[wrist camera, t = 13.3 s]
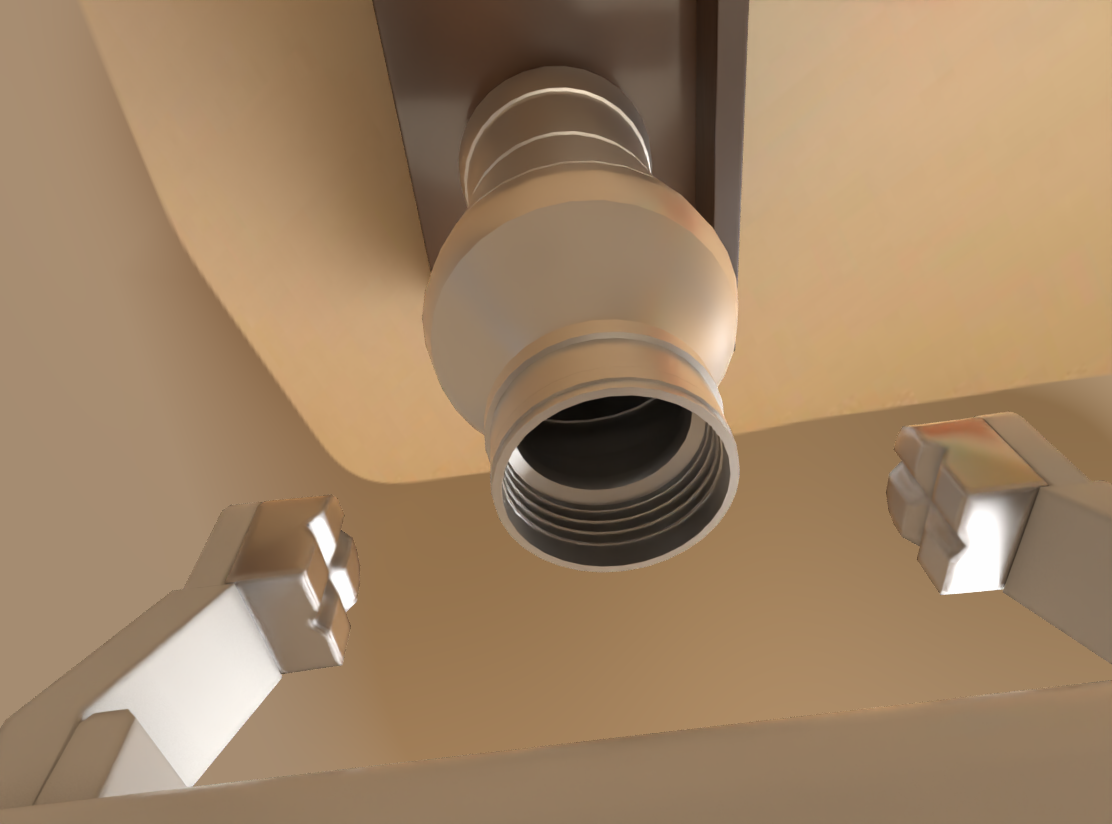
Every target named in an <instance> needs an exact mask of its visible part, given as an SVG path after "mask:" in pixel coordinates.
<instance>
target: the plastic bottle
mask: <svg viewBox="0 0 1112 824" xmlns="http://www.w3.org/2000/svg"><path fill="white" fill-rule="evenodd" d="M458 164H459V175H460V183H461V187H462V191H463V195H464V198H465V202H466V205H467V210H466V211H465V213H464V214H463V215H462V217H461V218H460V220H459V221H458V222H457V223H456V225H455V226H454V228H453V230H452V231H451V233H450V235H449V236H448V238H447V239H446V241H445V243H444V244H443V246H442V248H441V250H440V252H439V255H438V257H437V259H436V261H435V263H434V266H433V269H432V272H431V275H430V278H429V281H428V284H427V287H426V290H425V296H424V306H423V315H422V322H423V329H424V337H425V345H426V348H427V351H428V353H429V356H430V359H431V362H432V364H433V367H434V370H435V372H436V375H437V377H438V380H439V382H440V385H441V387H442V389H443V391H444V392H445V394H446V395H447V397H448V399H449V400H450V402H451V403H452V405H453V406H454V408H455V409H456V411H457V412H458V413H459V414H460V415H461V416H462V417H463V418H464V419H465V420H466V421H467V422H468V423H469V424H470V425H471V426H472V427H473V428H474V429H476V430H477V431H479V432H480V433H482V434H483V435H484V436H485V448H486V452H487V455H488V458H489V461H490V483H491V494H492V497H493V500H494V504H495V508H496V510H497V513H498V516H499V519H500V521H501V522H502V524H503V525H504V527H505V528H506V530H507V531H508V533H509V534H510V535H511V536H512V537H513V538H514V539H515V540H516V541H517V542H518V543H519V544H520V545H521V546H522V547H523V548H525V549H526V550H528V551H530V552H531V553H533V554H534V555H536V556H538V557H539V558H541V559H544V560H546V561H549V562H551V563H554V564H556V565H559V566H563V567H567V568H571V569H575V570H581V571H592V572H614V571H626V570H632V569H637V568H642V567H646V566H650V565H653V564H656V563H658V562H662V561H665V560H667V559H669V558H671V557H674V556H676V555H678V554H679V553H681V552H684V551H686V550H687V549H688V548H690V547H691V546H693V545H694V544H696V543H697V542H699V541H700V540H702V539H703V538H704V537H705V536H706V535H707V534H708V533H709V532H710V531H711V530H712V529H713V528H714V527H716V525H717V524H718V523H719V522H720V521H721V519H722V518H723V516H724V515H725V514H726V512H727V511H728V509H729V508H730V505H731V503H732V501H733V498H734V496H735V494H736V491H737V486H738V480H739V475H740V470H739V459H738V453H737V445H736V443H735V440H734V437H733V435H732V432H731V429H730V427H729V425H728V423H727V421H726V419H725V417H724V411H723V402H722V399H721V396H720V393H719V391H718V388H717V387H718V386H719V384H720V382H721V381H722V379H723V378H724V376H725V373H726V371H727V368H728V365H729V363H730V360H731V357H732V355H733V352H734V345H735V338H736V331H737V321H738V294H737V282H736V276H735V273H734V270H733V267H732V264H731V261H730V258H729V255H728V252H727V250H726V249H725V247H724V245H723V244H722V242H721V240H720V239H719V237H718V235H717V234H716V232H715V231H714V229H713V227H712V226H711V225H710V224H709V223H708V222H707V221H706V220H705V219H704V218H703V217H702V216H701V215H700V214H699V213H698V212H697V211H696V210H695V208H694V207H693V206H692V205H691V204H690V203H689V202H688V201H687V200H686V199H685V198H684V197H683V196H682V195H681V194H679V193H678V192H676V191H674V190H673V189H671V188H670V187H668V186H667V185H665V184H664V183H662V182H661V181H660V180H658V179H657V178H655V177H654V176H653V175H652V159H651V151H650V144H649V137H648V134H647V131H646V128H645V125H644V122H643V120H642V118H641V116H640V114H639V113H638V111H637V109H636V108H635V106H634V104H633V103H632V102H631V101H630V99H629V98H628V97H627V96H626V95H625V94H624V93H623V92H622V91H621V90H620V89H619V88H618V87H616V86H615V85H613V84H612V83H610V82H609V81H608V80H606V79H605V78H603V77H601V76H599V75H596V74H594V73H591V72H589V71H587V70H584V69H579V68H573V67H568V66H544V67H540V68H536V69H531V70H527V71H524V72H522V73H519V74H517V75H515V76H513V77H511V78H509V79H507V80H505V81H504V82H502V83H501V84H500V85H498V86H497V87H496V88H494V89H493V90H492V91H490V92H489V93H488V94H487V96H486V97H485V98H484V99H483V100H482V101H481V102H480V104H479V105H478V106H477V107H476V109H475V110H474V112H473V114H472V116H471V117H470V119H469V121H468V123H467V124H466V127H465V130H464V133H463V136H462V140H461V143H460V151H459V160H458Z"/></svg>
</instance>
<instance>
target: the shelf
mask: <svg viewBox="0 0 1112 824" xmlns="http://www.w3.org/2000/svg"><path fill="white" fill-rule="evenodd" d="M372 1H373V6H374V11H375V15H376V20H377V25H378V29H379V34H380V39H381V43H382V48H383V52H384V57H385V62H386V66H387V71H388V76H389V80H390V85H391V90H392V94H393V99H394V104H395V108H396V113H397V117H398V122H399V127H400V131H401V136H402V141H403V145H404V150H405V155H406V159H407V164H408V168H409V173H410V178H411V182H412V187H413V192H414V196H415V201H416V206H417V210H418V215H419V219H420V224H421V229H422V233H423V238H424V243H425V247H426V252H427V257H428V261H429V266H430V270H431V272H432V269H433V266H434V263H435V261H436V259H437V257H438V255H439V252H440V250H441V248H442V246H443V244H444V243H445V241H446V239H447V238H448V236H449V235H450V233H451V231H452V230H453V228H454V226H455V225H456V223H457V222H458V221H459V220H460V218H461V217H462V215H463V214H464V213H465V211H466V210H467V205H466V202H465V198H464V195H463V191H462V187H461V183H460V175H459V164H458V160H459V151H460V143H461V140H462V136H463V133H464V130H465V127H466V124H467V123H468V121H469V119H470V117H471V116H472V114H473V112H474V110H475V109H476V107H477V106H478V105H479V104H480V102H481V101H482V100H483V99H484V98H485V97H486V96H487V94H488V93H489V92H490V91H492V90H493V89H494V88H496V87H497V86H498V85H500V84H501V83H502V82H504V81H505V80H507V79H509V78H511V77H513V76H515V75H517V74H519V73H522V72H524V71H527V70H531V69H536V68H540V67H544V66H568V67H573V68H579V69H584V70H587V71H589V72H591V73H594V74H596V75H599V76H601V77H603V78H605V79H606V80H608V81H609V82H610V83H612V84H613V85H615V86H616V87H618V88H619V89H620V90H621V91H622V92H623V93H624V94H625V95H626V96H627V97H628V98H629V99H630V101H631V102H632V103H633V104H634V106H635V108H636V109H637V111H638V113H639V114H640V116H641V118H642V120H643V122H644V125H645V128H646V131H647V134H648V137H649V144H650V151H651V159H652V175H653V176H654V177H655V178H657V179H658V180H660V181H661V182H662V183H664V184H665V185H667V186H668V187H670V188H671V189H673V190H674V191H676V192H678V193H679V194H681V195H682V196H683V197H684V198H685V199H686V200H687V201H688V202H689V203H690V204H691V205H692V206H693V207H694V208H695V210H696V211H697V212H698V213H699V214H700V215H701V216H702V217H703V218H704V219H705V220H706V221H707V222H708V223H709V224H710V225H711V226H712V227H713V229H714V231H715V232H716V234H717V235H718V237H719V239H720V240H721V242H722V244H723V245H724V247H725V249H726V250H727V252H728V255H729V258H730V261H731V264H732V267H733V270H734V273H735V276H736V282H737V288H738V263H739V238H740V213H741V188H742V163H743V138H744V113H745V88H746V63H747V38H748V14H749V0H372ZM734 351H735V345H734Z"/></svg>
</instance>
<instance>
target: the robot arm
mask: <svg viewBox="0 0 1112 824" xmlns="http://www.w3.org/2000/svg"><path fill="white" fill-rule="evenodd" d="M894 450H895V452H896V453H897V455H898V456H899V457H900V459H901V460H902V461H901V462H900V463H899V464H898V465H897V466H896V467H895V468H894V469H893V470H892V472H891V473H890V474H889V478H888V484H887V490H886V495H887V502H888V509H889V513H890V515H891V518H892V521H893V523H894V525H895V527H896V528H897V530H898V531H899V533H900V535H901V536H902V537H903V538H905V539H907V540H909V541H911V542H912V543H914V544H916V545H918V546H920V548H919V553H918V557H917V560H918V562H919V563H920V565H921V566H922V568H923V569H924V571H925V572H926V574H927V575H928V577H929V578H930V580H931V581H932V583H933V584H934V586H935V587H936V589H937V590H938V592H939V593H940V595H944V594H955V593H967V592H978V591H989V590H999V589H1004V590H1003V593H1005V594H1006V595H1008V596H1009V597H1011V598H1012V599H1014V600H1016V601H1017V602H1019V603H1020V604H1022V605H1023V606H1025V607H1026V608H1028V609H1029V610H1031V611H1032V612H1034V613H1035V614H1037V615H1038V616H1040V617H1042V618H1043V619H1044V620H1046V621H1047V622H1049V623H1050V624H1052V625H1054V626H1055V627H1056V628H1058V629H1059V630H1061V631H1062V632H1064V633H1065V634H1067V635H1068V636H1070V637H1072V638H1073V639H1074V640H1076V641H1077V642H1079V643H1080V644H1082V645H1083V646H1085V647H1087V648H1088V649H1089V650H1091V651H1092V652H1094V653H1095V654H1097V655H1098V656H1100V657H1101V658H1103V659H1105V660H1106V661H1108V662H1109V663H1111V664H1112V483H1110V482H1107V481H1104V480H1100V481H1091V480H1090V479H1089V478H1087V477H1086V476H1085V475H1084V474H1083V473H1082V472H1081V471H1080V470H1079V469H1078V468H1077V467H1075V466H1074V465H1073V464H1072V463H1071V462H1070V461H1069V460H1068V459H1067V458H1066V457H1065V456H1064V455H1063V454H1062V453H1060V452H1059V451H1058V450H1057V449H1056V448H1055V447H1054V446H1053V445H1052V444H1051V443H1050V442H1049V441H1048V440H1047V439H1045V438H1044V437H1043V436H1042V435H1041V434H1040V433H1039V432H1038V431H1037V430H1036V429H1035V428H1034V427H1032V426H1031V425H1030V424H1029V423H1028V422H1027V421H1026V420H1025V419H1023V417H1022V416H1020V415H1018V414H1015V413H1013V412H1010V411H1009V412H1002V413H995V414H988V415H982V416H974V417H973V418H967V419H959V420H952V421H943V422H935V423H927V424H919V425H911V426H903V427H902V428H901V430H900V432H899V433H898V435H897V438H896V442H895V447H894ZM343 519H344V513H343V510H342V508H341V505H340V503H339V501H338V498H336V497H335V496H333V495H323V496H311V497H301V498H291V499H281V500H270V501H264V502H254V503H245V504H236V505H230V506H228V507H227V508H225V509H224V510H223V511H222V512H221V514H220V516H219V518H218V520H217V522H216V524H215V526H214V528H213V530H212V532H211V534H210V536H209V538H208V540H207V542H206V544H205V546H204V548H203V550H202V552H201V554H200V556H199V558H198V560H197V562H196V565H195V567H194V569H193V571H192V573H191V575H190V576H189V578H188V581H187V583H186V585H185V587H184V589H182V590H174V591H171V592H170V593H169V594H167V595H166V596H165V597H164V598H163V599H161V600H160V601H159V602H157V603H156V604H155V605H153V606H152V607H151V608H149V609H148V610H147V611H146V612H144V613H143V614H142V615H140V616H139V617H138V618H137V619H135V620H134V621H133V622H131V623H130V624H129V625H128V626H126V627H125V628H124V629H122V630H121V631H120V632H118V633H117V634H116V635H115V636H113V637H112V638H111V639H110V640H108V641H107V642H106V643H104V644H103V645H102V646H100V647H99V648H98V649H97V650H96V651H94V652H93V653H91V654H90V655H89V656H88V657H86V658H85V659H84V660H82V661H81V662H80V663H79V664H77V665H76V666H75V667H73V668H72V669H71V670H70V671H68V672H67V673H66V674H64V675H63V676H62V677H61V678H59V679H58V680H57V681H55V682H54V683H53V684H52V685H50V686H49V687H48V688H46V689H45V690H44V691H43V692H41V693H40V694H39V695H38V696H36V697H35V698H33V699H32V700H31V701H30V702H28V703H27V704H26V705H24V706H23V707H22V708H21V709H19V710H18V711H17V712H16V713H14V714H13V715H12V716H10V717H9V718H8V719H6V720H5V722H4V723H3V725H2V727H1V728H0V824H1112V680H1108V681H1100V682H1091V683H1082V684H1074V685H1066V686H1057V687H1048V688H1040V689H1031V690H1022V691H1014V692H1005V693H996V694H988V695H979V696H971V697H962V698H953V699H946V700H936V701H927V702H919V703H910V704H902V705H894V706H884V707H876V708H867V709H859V710H850V711H841V712H833V713H825V714H816V715H807V716H799V717H790V718H782V719H773V720H764V721H756V722H748V723H738V724H731V725H721V726H712V727H704V728H696V729H687V730H678V731H669V732H661V733H652V734H644V735H635V736H626V737H618V738H609V739H600V740H592V741H583V742H576V743H567V744H557V745H549V746H540V747H532V748H523V749H515V750H506V751H497V752H489V753H480V754H472V755H463V756H454V757H446V758H438V759H428V760H420V761H412V762H403V763H395V764H385V765H377V766H369V767H360V768H351V769H343V770H335V771H325V772H317V773H308V774H300V775H291V776H283V777H274V778H265V779H257V780H248V781H241V782H240V781H239V782H231V783H222V784H214V785H205V786H197V787H192V786H193V785H194V784H195V783H196V782H197V780H198V779H199V778H200V777H201V775H202V774H203V773H204V772H205V771H206V769H207V768H208V767H209V766H210V765H211V763H212V762H213V761H214V760H215V758H216V757H217V756H218V755H219V754H220V752H221V751H222V750H223V749H224V747H225V746H226V745H227V744H228V743H229V741H230V740H231V739H232V738H233V736H234V735H235V734H236V733H237V732H238V730H239V729H240V728H241V727H242V726H243V724H244V723H245V722H246V721H247V719H248V718H249V717H250V716H251V715H252V713H253V712H254V711H255V710H256V709H257V707H258V706H259V705H260V704H261V702H262V701H263V700H264V699H265V697H266V696H267V695H268V694H269V693H270V691H271V690H272V689H273V688H274V687H275V685H276V684H277V683H278V682H279V680H280V679H281V678H282V676H281V674H285V673H292V672H299V671H306V670H313V669H319V668H326V667H333V666H340V665H342V664H343V660H344V655H345V651H346V646H347V642H348V638H349V633H350V629H351V625H350V622H349V620H348V617H347V614H346V611H347V610H348V609H349V608H350V607H351V606H352V605H353V604H354V603H355V602H356V601H357V596H358V591H359V586H360V564H359V558H358V553H357V549H356V546H355V543H354V540H353V538H352V537H350V536H349V535H348V534H346V533H345V532H343V531H342V530H341V527H342V523H343Z"/></svg>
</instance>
